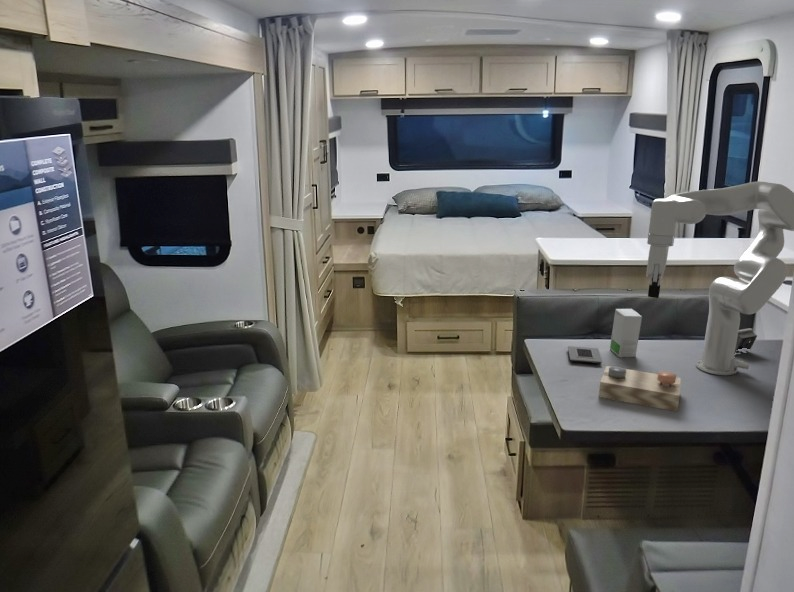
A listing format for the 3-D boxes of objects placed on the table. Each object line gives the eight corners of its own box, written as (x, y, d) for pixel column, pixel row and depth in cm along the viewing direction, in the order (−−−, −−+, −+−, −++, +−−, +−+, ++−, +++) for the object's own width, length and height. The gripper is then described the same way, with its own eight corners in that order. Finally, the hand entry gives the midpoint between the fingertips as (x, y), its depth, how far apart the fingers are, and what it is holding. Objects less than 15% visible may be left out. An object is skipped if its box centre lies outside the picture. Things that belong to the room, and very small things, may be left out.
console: (678, 392, 198) (680, 377, 196) (677, 411, 186) (679, 395, 184) (604, 380, 206) (606, 365, 205) (598, 397, 194) (600, 381, 193)
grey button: (624, 387, 200) (626, 368, 198) (622, 393, 195) (625, 373, 194) (607, 384, 202) (610, 365, 200) (605, 390, 197) (608, 371, 196)
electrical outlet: (601, 367, 218) (602, 360, 217) (569, 364, 220) (570, 358, 219) (597, 353, 230) (598, 347, 230) (567, 351, 232) (568, 345, 231)
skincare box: (609, 349, 233) (614, 308, 229) (626, 348, 234) (631, 308, 230) (619, 357, 225) (624, 315, 221) (637, 357, 226) (642, 315, 222)
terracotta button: (673, 393, 194) (676, 373, 192) (672, 399, 190) (675, 379, 188) (655, 390, 196) (658, 370, 194) (654, 396, 192) (657, 376, 190)
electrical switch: (741, 349, 236) (747, 325, 232) (753, 355, 231) (760, 331, 228) (722, 352, 232) (728, 329, 229) (734, 358, 228) (741, 335, 224)
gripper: (649, 234, 205) (642, 289, 210) (646, 242, 192) (638, 301, 197) (674, 236, 202) (667, 292, 207) (673, 245, 189) (664, 304, 194)
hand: (653, 296), depth 202 cm, fingers closed
